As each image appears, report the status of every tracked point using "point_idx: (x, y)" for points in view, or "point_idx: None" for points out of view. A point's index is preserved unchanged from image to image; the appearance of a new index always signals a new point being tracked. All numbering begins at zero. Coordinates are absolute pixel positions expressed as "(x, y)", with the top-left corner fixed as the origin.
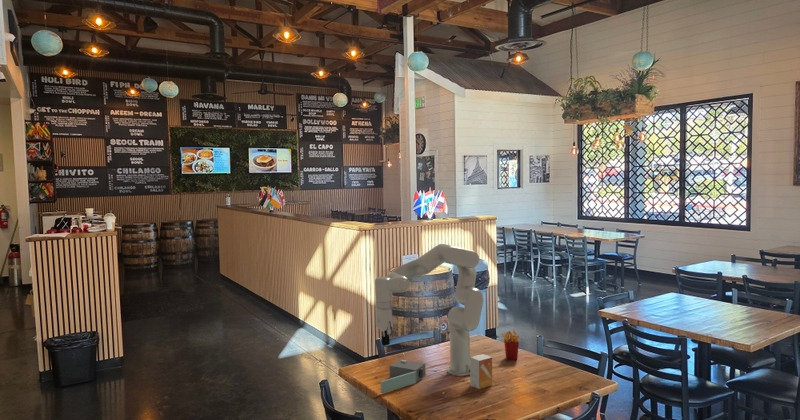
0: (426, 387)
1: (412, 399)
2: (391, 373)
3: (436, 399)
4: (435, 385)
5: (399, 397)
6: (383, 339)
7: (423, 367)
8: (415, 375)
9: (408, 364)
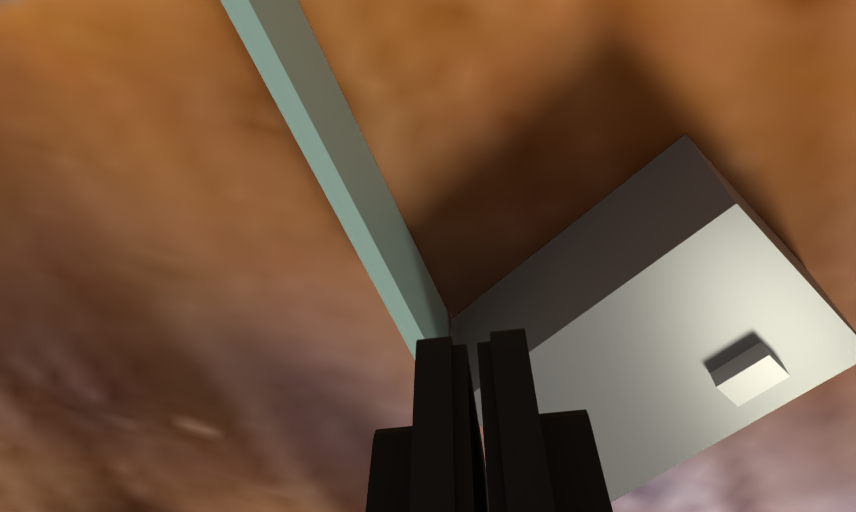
0: (326, 359)
1: (76, 197)
2: (682, 174)
3: (67, 357)
4: (349, 421)
5: (135, 97)
6: (413, 498)
7: None
8: None
9: (651, 388)
